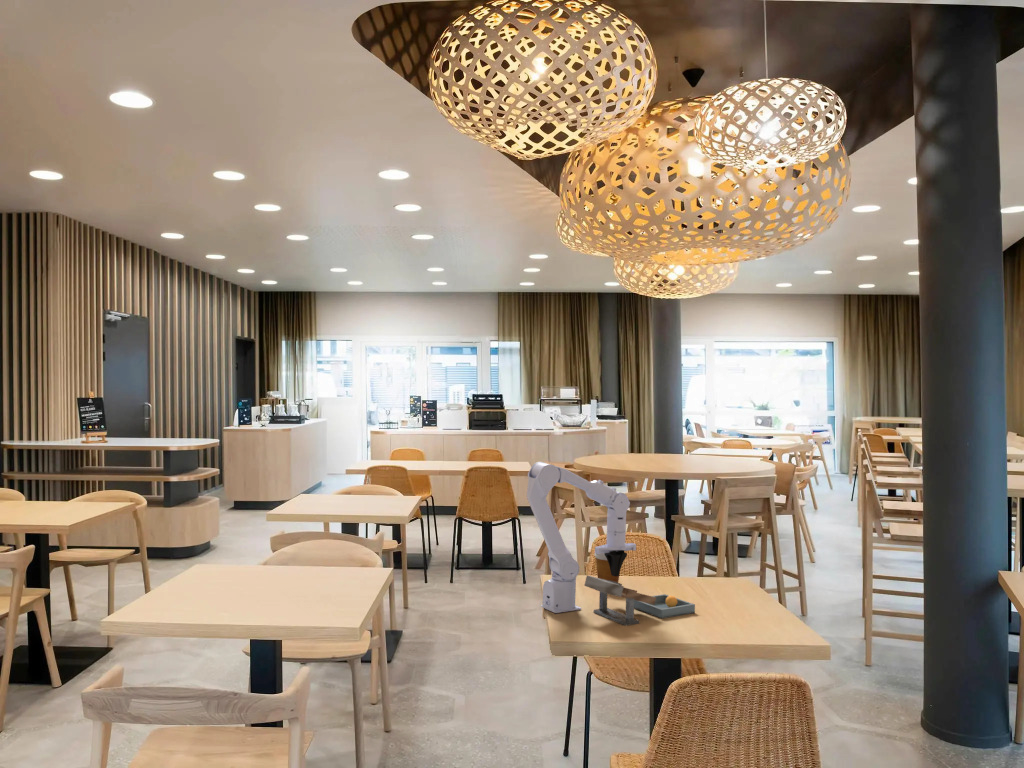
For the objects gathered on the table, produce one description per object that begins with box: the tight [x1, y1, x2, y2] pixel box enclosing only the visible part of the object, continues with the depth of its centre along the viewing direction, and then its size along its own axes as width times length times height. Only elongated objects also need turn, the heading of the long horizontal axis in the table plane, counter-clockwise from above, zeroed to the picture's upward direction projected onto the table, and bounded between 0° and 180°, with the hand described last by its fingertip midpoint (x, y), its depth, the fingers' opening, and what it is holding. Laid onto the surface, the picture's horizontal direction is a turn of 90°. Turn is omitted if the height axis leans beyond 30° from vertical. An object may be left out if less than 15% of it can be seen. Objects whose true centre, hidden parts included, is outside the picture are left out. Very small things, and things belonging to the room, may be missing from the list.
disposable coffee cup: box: [594, 552, 621, 583], centre depth 261 cm, size 10×10×12 cm
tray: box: [634, 593, 696, 619], centre depth 235 cm, size 13×13×2 cm
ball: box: [666, 595, 677, 607], centre depth 236 cm, size 4×4×4 cm
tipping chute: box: [583, 575, 656, 605], centre depth 230 cm, size 20×17×3 cm
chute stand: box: [593, 591, 640, 626], centre depth 225 cm, size 5×15×7 cm, turn 31°
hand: (615, 575), depth 239 cm, fingers closed
